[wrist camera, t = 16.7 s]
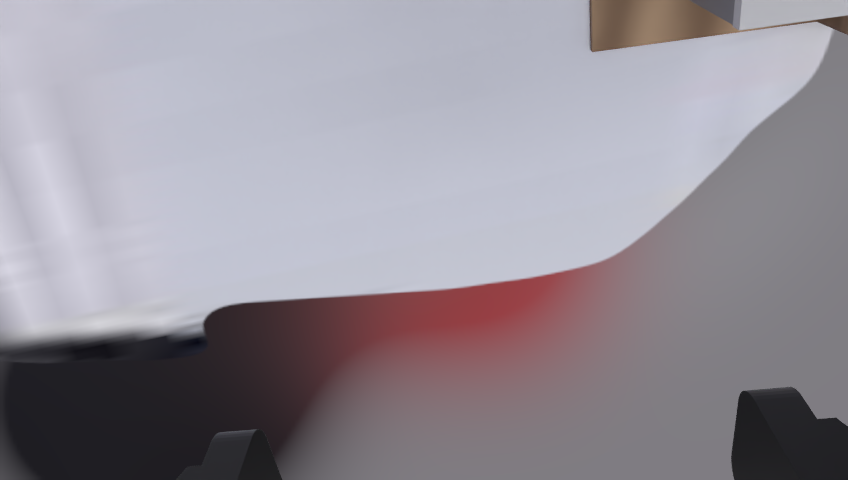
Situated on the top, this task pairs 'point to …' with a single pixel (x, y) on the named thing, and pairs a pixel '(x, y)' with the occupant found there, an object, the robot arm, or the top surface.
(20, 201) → the top surface
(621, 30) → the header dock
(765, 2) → the plug block
